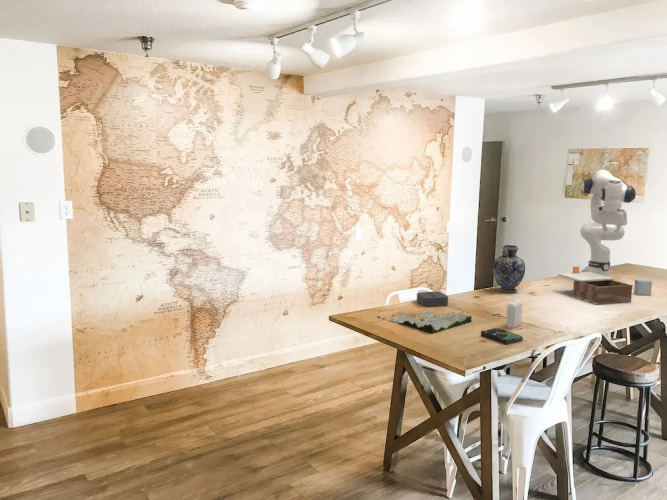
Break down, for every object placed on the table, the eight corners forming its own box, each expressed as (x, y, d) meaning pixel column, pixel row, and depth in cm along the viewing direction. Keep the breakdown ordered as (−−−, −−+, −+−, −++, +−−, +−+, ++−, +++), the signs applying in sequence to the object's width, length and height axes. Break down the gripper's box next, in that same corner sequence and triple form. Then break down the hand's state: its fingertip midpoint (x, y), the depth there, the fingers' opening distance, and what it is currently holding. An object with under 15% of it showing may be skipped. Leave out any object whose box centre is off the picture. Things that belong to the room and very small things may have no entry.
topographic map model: (377, 318, 266) (377, 309, 265) (416, 309, 284) (416, 300, 283) (432, 335, 238) (432, 324, 238) (471, 323, 257) (471, 313, 256)
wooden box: (572, 296, 309) (573, 280, 307) (604, 294, 314) (605, 278, 313) (597, 304, 290) (598, 287, 288) (630, 302, 295) (632, 285, 293)
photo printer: (513, 328, 246) (515, 303, 244) (505, 327, 248) (506, 301, 247) (522, 324, 253) (523, 299, 252) (513, 322, 256) (514, 297, 254)
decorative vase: (498, 285, 337) (500, 242, 333) (527, 289, 327) (531, 245, 322) (486, 292, 320) (489, 246, 316) (517, 296, 310) (520, 249, 305)
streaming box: (415, 301, 299) (415, 292, 298) (439, 300, 302) (439, 291, 301) (424, 307, 285) (424, 298, 284) (449, 306, 288) (449, 297, 287)
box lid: (557, 275, 321) (558, 267, 320) (589, 273, 326) (590, 265, 326) (581, 281, 301) (581, 273, 301) (614, 279, 307) (614, 271, 306)
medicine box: (647, 293, 315) (648, 279, 314) (651, 295, 311) (652, 281, 309) (633, 293, 316) (634, 279, 315) (636, 295, 311) (638, 280, 310)
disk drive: (480, 337, 235) (507, 346, 223) (480, 331, 235) (507, 339, 223) (496, 333, 241) (523, 341, 228) (496, 327, 241) (523, 335, 228)
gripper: (630, 209, 300) (628, 233, 302) (604, 207, 320) (603, 229, 322) (621, 209, 299) (619, 234, 301) (595, 207, 318) (594, 230, 320)
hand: (610, 231), depth 311 cm, fingers open, 8 cm apart
